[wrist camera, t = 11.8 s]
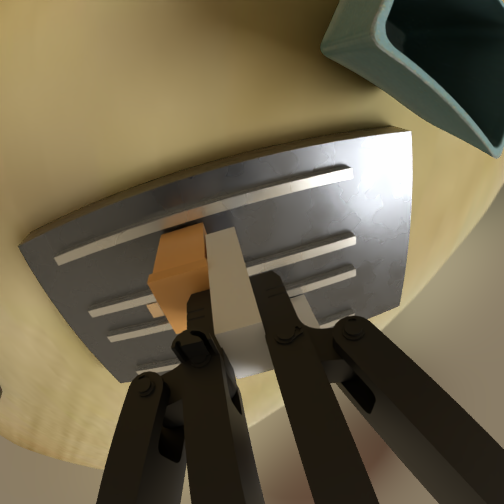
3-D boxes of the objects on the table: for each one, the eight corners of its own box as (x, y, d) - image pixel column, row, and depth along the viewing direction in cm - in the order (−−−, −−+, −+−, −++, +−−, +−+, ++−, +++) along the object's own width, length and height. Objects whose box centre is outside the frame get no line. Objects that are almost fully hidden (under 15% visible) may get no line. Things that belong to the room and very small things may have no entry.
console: (122, 366, 23) (119, 388, 21) (30, 232, 15) (13, 251, 13) (388, 292, 24) (402, 310, 22) (392, 126, 16) (417, 133, 13)
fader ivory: (275, 333, 20) (291, 381, 16) (268, 303, 18) (284, 354, 15) (308, 323, 20) (329, 369, 17) (305, 292, 19) (328, 340, 15)
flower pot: (396, 126, 16) (501, 165, 8) (281, 65, 13) (369, 39, 5) (428, 33, 12) (526, 35, 4) (327, -36, 9) (412, -90, 2)
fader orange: (178, 279, 16) (176, 334, 13) (158, 233, 15) (146, 283, 11) (220, 267, 16) (228, 321, 13) (204, 220, 15) (206, 266, 11)
